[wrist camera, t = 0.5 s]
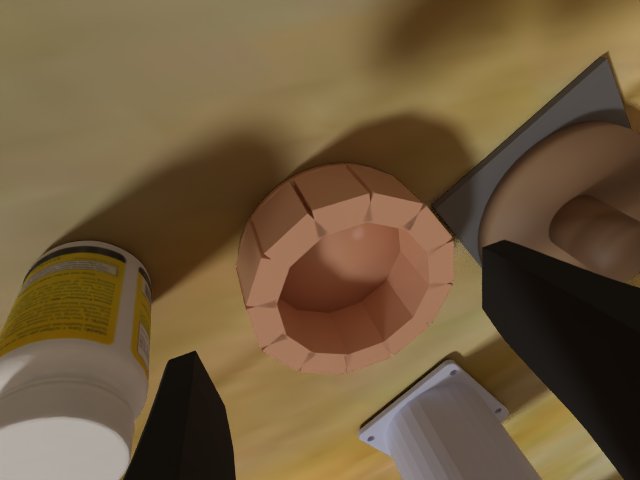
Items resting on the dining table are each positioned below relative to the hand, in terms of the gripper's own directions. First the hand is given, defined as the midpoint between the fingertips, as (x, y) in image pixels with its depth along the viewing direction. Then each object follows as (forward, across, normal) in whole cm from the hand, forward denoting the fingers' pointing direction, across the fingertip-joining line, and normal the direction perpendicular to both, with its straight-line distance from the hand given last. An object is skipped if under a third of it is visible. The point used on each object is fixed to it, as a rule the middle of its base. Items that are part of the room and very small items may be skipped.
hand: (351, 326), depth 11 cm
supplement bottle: (+10, +9, +2) cm, 13 cm away
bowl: (+10, -2, +5) cm, 11 cm away
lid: (+9, -14, +7) cm, 18 cm away
